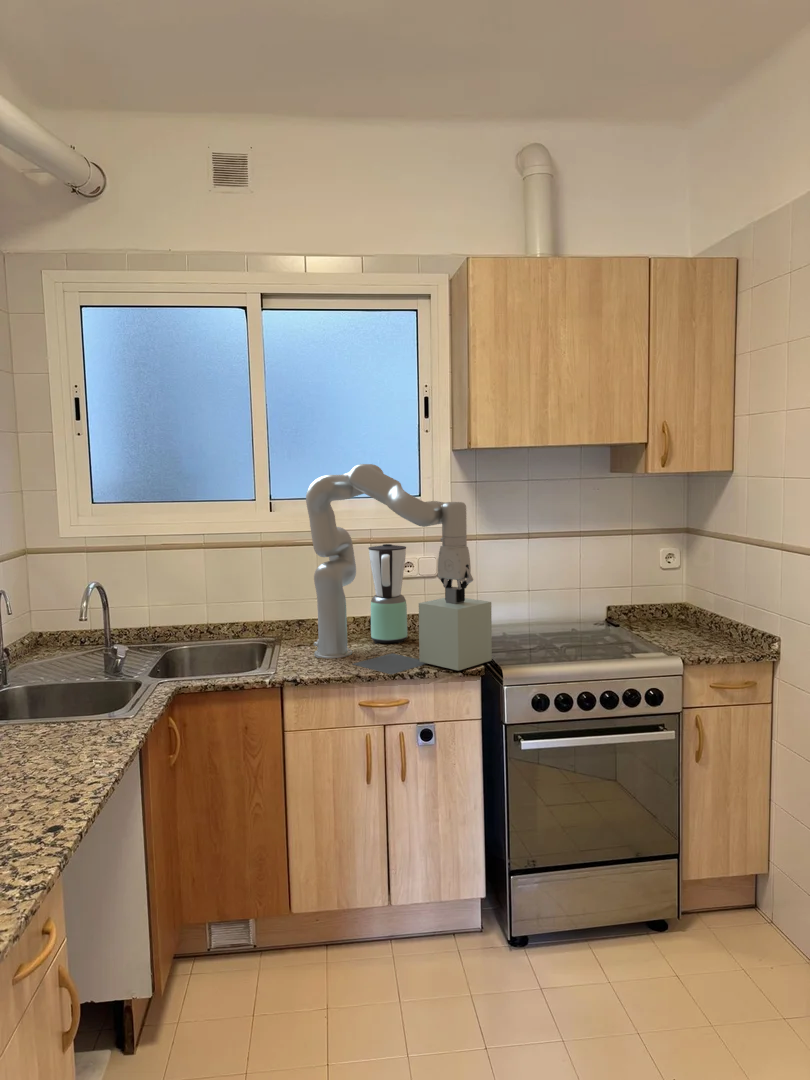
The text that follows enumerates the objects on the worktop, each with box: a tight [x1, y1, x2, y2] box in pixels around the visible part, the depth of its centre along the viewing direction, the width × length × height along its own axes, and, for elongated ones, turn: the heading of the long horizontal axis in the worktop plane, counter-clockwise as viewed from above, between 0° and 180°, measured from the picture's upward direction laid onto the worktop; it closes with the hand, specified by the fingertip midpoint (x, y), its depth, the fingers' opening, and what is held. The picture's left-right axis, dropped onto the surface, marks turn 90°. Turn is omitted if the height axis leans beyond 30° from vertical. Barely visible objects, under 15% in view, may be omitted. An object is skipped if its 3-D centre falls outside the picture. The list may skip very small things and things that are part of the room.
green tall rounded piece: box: [367, 543, 408, 645], centre depth 261 cm, size 19×13×35 cm
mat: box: [352, 653, 428, 675], centre depth 232 cm, size 18×18×1 cm
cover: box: [418, 586, 493, 672], centre depth 229 cm, size 16×16×23 cm
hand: (455, 600), depth 228 cm, fingers closed on cover, 3 cm apart
